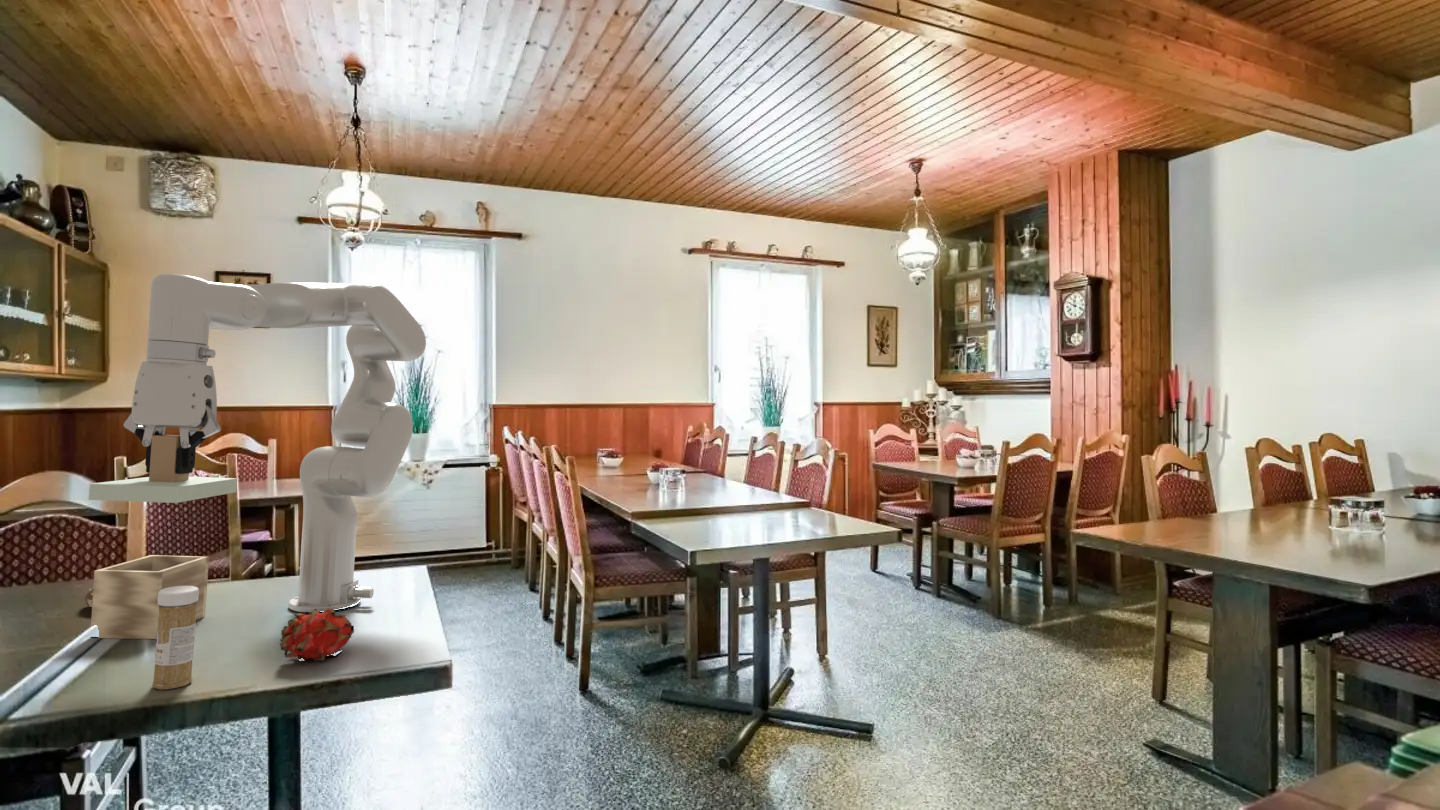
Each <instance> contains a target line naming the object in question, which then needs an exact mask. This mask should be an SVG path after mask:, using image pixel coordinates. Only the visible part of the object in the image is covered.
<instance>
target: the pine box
mask: <svg viewBox="0 0 1440 810" xmlns="http://www.w3.org/2000/svg"><path fill="white" fill-rule="evenodd" d="M209 562H210V556H201V555H200V556H199V555H198V556H197V555H196V556H195V555H194V556H193V555H170V554H169V555H167V554H165V555H162V554H160V555H159V554H158V555H157V554H150V555H145V556H143V557H138V558H136V559H132V560H131V559H130V560H128V561H124V562H121V563H118V564H113V565H110V566H106V567H103V568H100V569H96V570H94V574H93V586H92V588H93V601H92V608H91V618H90V619H91V620H90V627H91V626H94V625H97V626H98V630H99V637H98V638H97V639H123V640H124V639H130V640H131V639H133V640H137V639H138V640H139V639H140V640H156V636H157V629H158V616H159V604H158V593H159V591H160V590H162V589H164V588H168V587H174V586H195V587H198V589H199V596H198V601H197V604H196V619H195V622H197V621H199V620H200V619H203V618H205V617H206V609H207V594H208V581H209V580H208V579H209V578H208V577H209V564H210V563H209Z"/></svg>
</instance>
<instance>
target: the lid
mask: <svg viewBox="0 0 1440 810" xmlns="http://www.w3.org/2000/svg"><path fill="white" fill-rule="evenodd" d="M177 448H181V441H180V434H179V435H176V434H164V435H153V436H152V444H151V458H150V473H149V475H148V476H145V477H136V478H129V479H128V478H127V479H120V480H110V481H102V482H94V483H93V482H91V483H89V490H88V501H109V502H110V501H112V502H116V501H117V502H139V503H141V502H142V503H167V504H168V503H169V504H171V503H172V504H177V503H178V504H179V503H184V502H189V501H193V500H194V501H195V500H200V499H206V498H211V497H217V496H222V495H223V496H224V495H229V494H234V493H237V491H238V478H237V477H235V478H233V477H214V476H213V477H211V476H209V477H207V476H190V473H186V474H176V472H175V471H176V456H177Z"/></svg>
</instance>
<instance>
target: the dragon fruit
mask: <svg viewBox="0 0 1440 810" xmlns="http://www.w3.org/2000/svg"><path fill="white" fill-rule="evenodd" d="M354 627H355V626H354V625H352V622H351V621H350V620H349V619H348V618H347V617H346V615H345V614H336V611H334V610H333V609H332V608H329V609H327V610H326V611H324V612H322V613H319V612H318V611H317V609H314V610H313V611H312V612H309V613H306V614H305V613H303V612H298V613H296V614H294V618H292V619H289V620H288V622H287V625H284V626H283V628H282V629H281V633H280V634H281V639H279V641H280V644H279V646H280V650H281V651H284V652H283V653H284V654H283V655H284V657H285V658H288V659H289V658H290V659H291V658H297V657H298V658H297V660H298V659H301V658H303V659H304V660H306V659H307V658H308V659H312V660H313V659H314V660H313V661H315V660H316V661H320V660H319V659H321V660H323V659H324V660H325V659H326V657H325V656H327V655H331V654H334V652H336V651H340V650H341V649H342V647H344V646H345V645H347V643H348V642H349V640H350V638H352V636H353V634H354V632H355V628H354ZM288 652H290V653H288ZM327 657H328V656H327ZM308 659H307V660H308ZM307 660H306V661H307ZM324 660H323V661H324Z"/></svg>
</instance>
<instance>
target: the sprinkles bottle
mask: <svg viewBox="0 0 1440 810" xmlns="http://www.w3.org/2000/svg"><path fill="white" fill-rule="evenodd" d="M198 596H199V589H198V587H195V586H174V587H168V588H164V589H162V590H160V591H159V593H158V604H159V616H158V629H157V636H156V639H155V651H154V673H153V681H152V685H151V686H152V687H153V689H155V690H172V689H177V688H181V687H184V686H187V685H189V684H190V683H191V682H192V681H193V676H192V671H193V660H194V655H195V641H196V640H195V637H196V626H197V625H196V624H197V623H196V622H197V621H195V619H196V604H197V601H198Z"/></svg>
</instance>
